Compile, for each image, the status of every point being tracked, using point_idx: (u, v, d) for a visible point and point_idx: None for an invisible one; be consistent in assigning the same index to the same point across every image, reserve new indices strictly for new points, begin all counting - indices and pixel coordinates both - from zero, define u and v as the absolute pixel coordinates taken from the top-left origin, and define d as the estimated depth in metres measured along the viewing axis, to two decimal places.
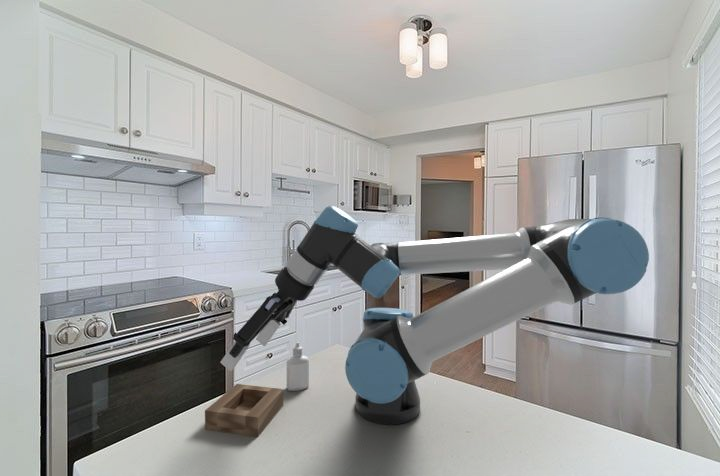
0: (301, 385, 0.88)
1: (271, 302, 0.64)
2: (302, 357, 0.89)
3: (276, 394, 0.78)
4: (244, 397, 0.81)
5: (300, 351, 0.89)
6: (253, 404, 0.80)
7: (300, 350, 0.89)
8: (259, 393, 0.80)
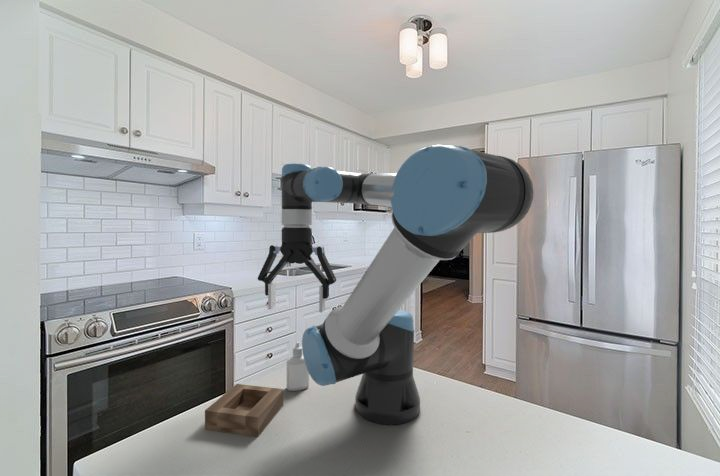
0: (301, 385, 0.88)
1: None
2: (302, 357, 0.89)
3: (276, 394, 0.78)
4: (244, 397, 0.81)
5: (300, 351, 0.89)
6: (253, 404, 0.80)
7: (300, 350, 0.89)
8: (259, 393, 0.80)
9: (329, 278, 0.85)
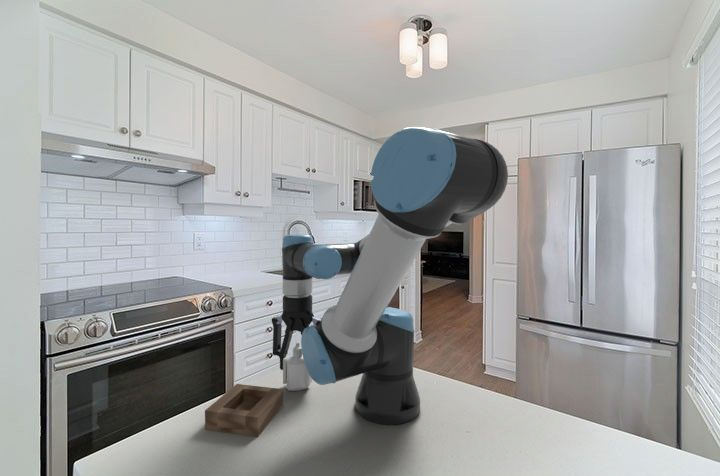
0: (301, 385, 0.88)
1: None
2: (302, 357, 0.89)
3: (276, 394, 0.78)
4: (244, 397, 0.81)
5: (300, 351, 0.89)
6: (253, 404, 0.80)
7: (300, 350, 0.89)
8: (259, 393, 0.80)
9: None
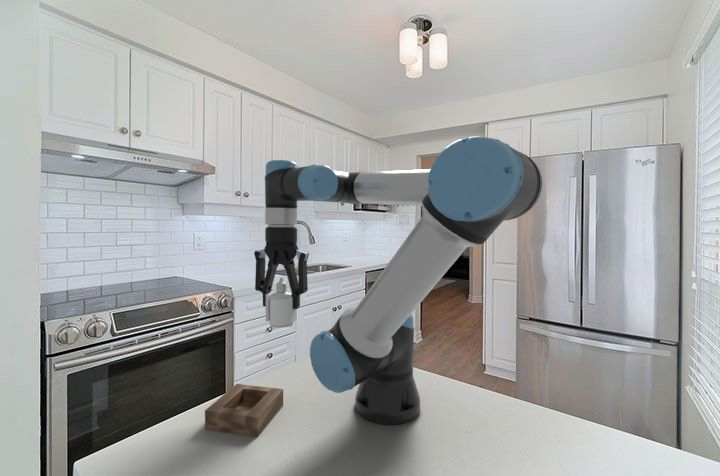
0: (284, 321, 0.83)
1: None
2: (286, 293, 0.84)
3: (276, 394, 0.78)
4: (244, 397, 0.81)
5: (284, 286, 0.83)
6: (253, 404, 0.80)
7: (284, 285, 0.83)
8: (259, 393, 0.80)
9: (300, 287, 0.82)
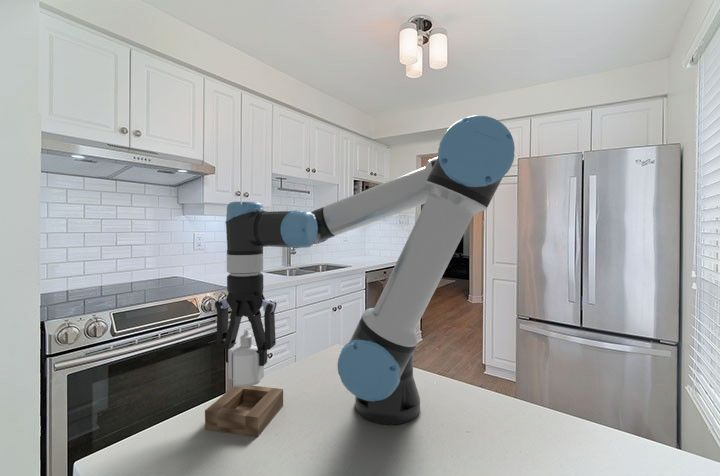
0: (249, 380, 0.75)
1: None
2: (251, 347, 0.75)
3: (276, 394, 0.78)
4: (244, 397, 0.81)
5: (249, 340, 0.75)
6: (253, 404, 0.80)
7: (249, 339, 0.75)
8: (259, 393, 0.80)
9: (267, 342, 0.73)
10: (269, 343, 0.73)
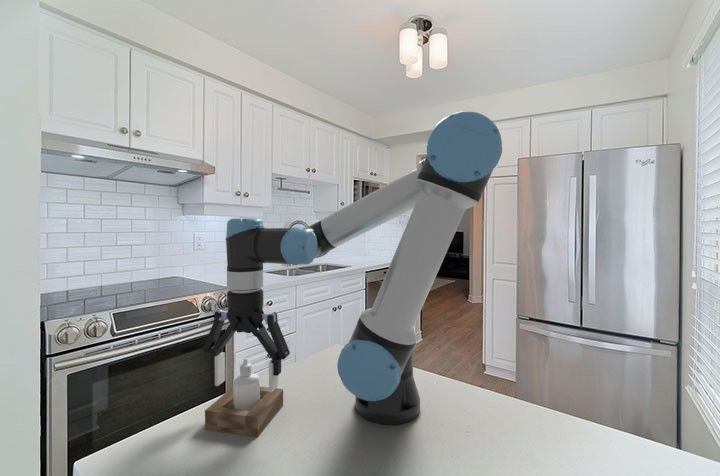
0: (250, 409, 0.75)
1: None
2: (251, 376, 0.76)
3: (276, 394, 0.78)
4: None
5: (248, 369, 0.75)
6: None
7: (248, 368, 0.75)
8: None
9: (280, 352, 0.73)
10: (282, 352, 0.73)
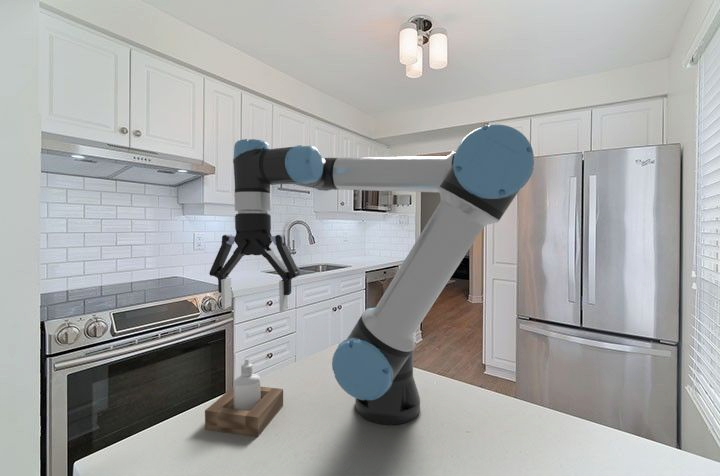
0: (250, 409, 0.75)
1: None
2: (252, 376, 0.76)
3: (276, 394, 0.78)
4: None
5: (249, 369, 0.75)
6: None
7: (249, 368, 0.75)
8: None
9: (290, 271, 0.74)
10: (292, 271, 0.73)
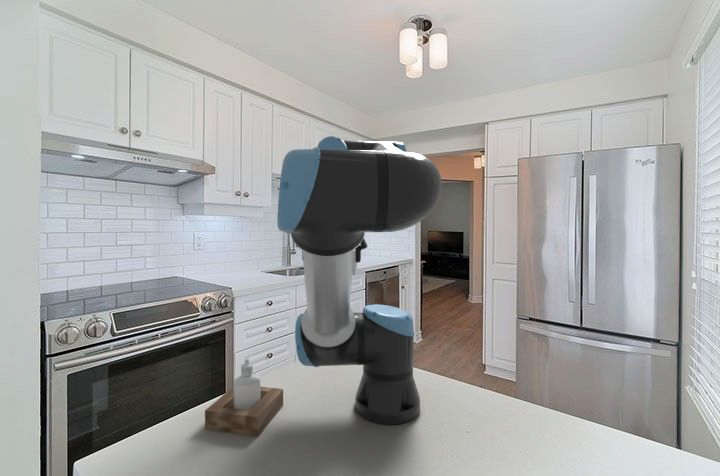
0: (250, 409, 0.75)
1: None
2: (252, 376, 0.76)
3: (276, 394, 0.78)
4: None
5: (249, 369, 0.75)
6: None
7: (249, 368, 0.75)
8: None
9: (361, 243, 0.94)
10: (363, 243, 0.94)
